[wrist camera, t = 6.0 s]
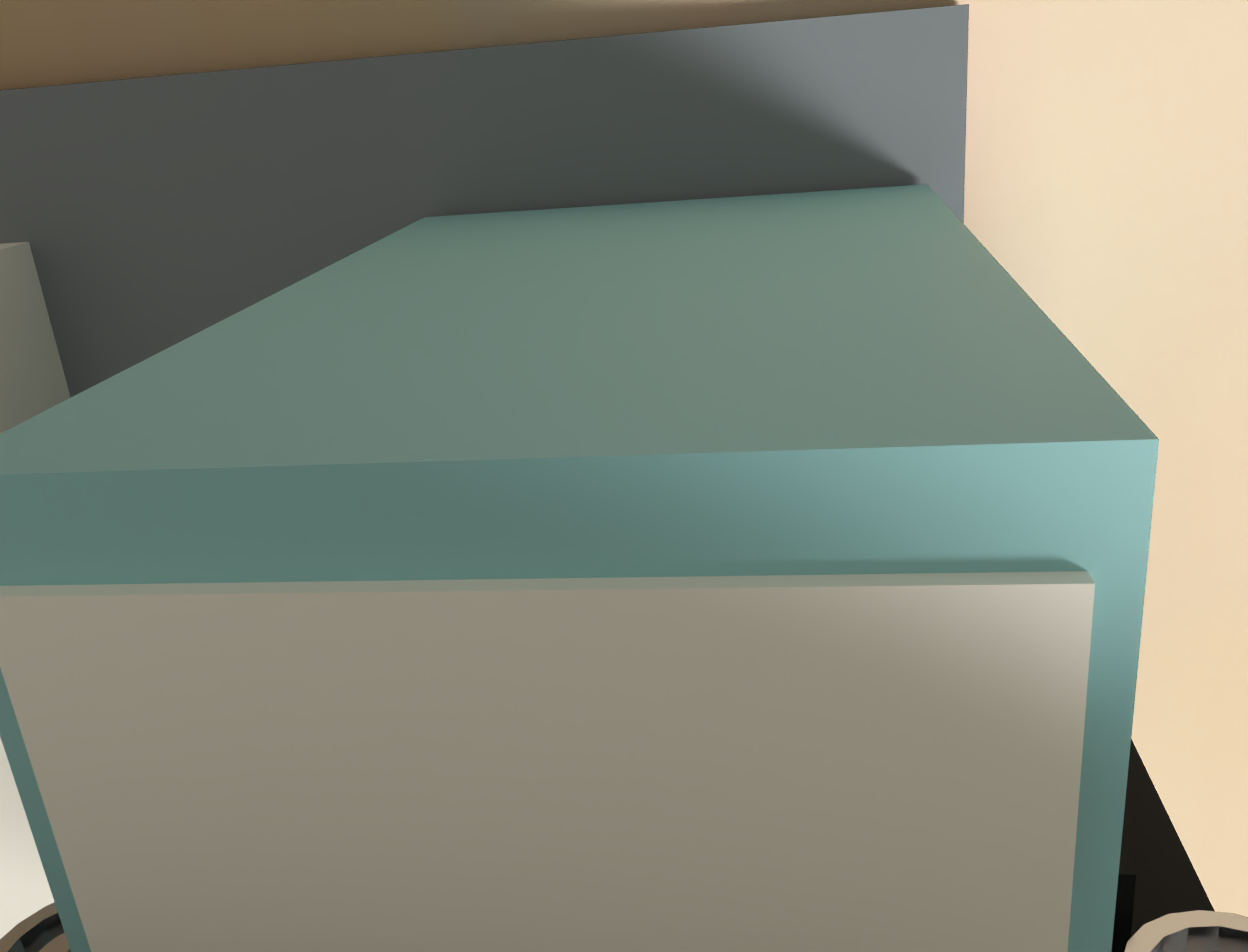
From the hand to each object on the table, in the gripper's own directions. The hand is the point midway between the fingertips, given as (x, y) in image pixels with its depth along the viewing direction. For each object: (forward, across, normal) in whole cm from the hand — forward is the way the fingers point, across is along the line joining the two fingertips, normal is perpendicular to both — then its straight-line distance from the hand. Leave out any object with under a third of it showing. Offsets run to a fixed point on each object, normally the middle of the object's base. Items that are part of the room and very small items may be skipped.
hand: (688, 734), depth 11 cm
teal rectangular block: (+2, 0, 0) cm, 2 cm away
